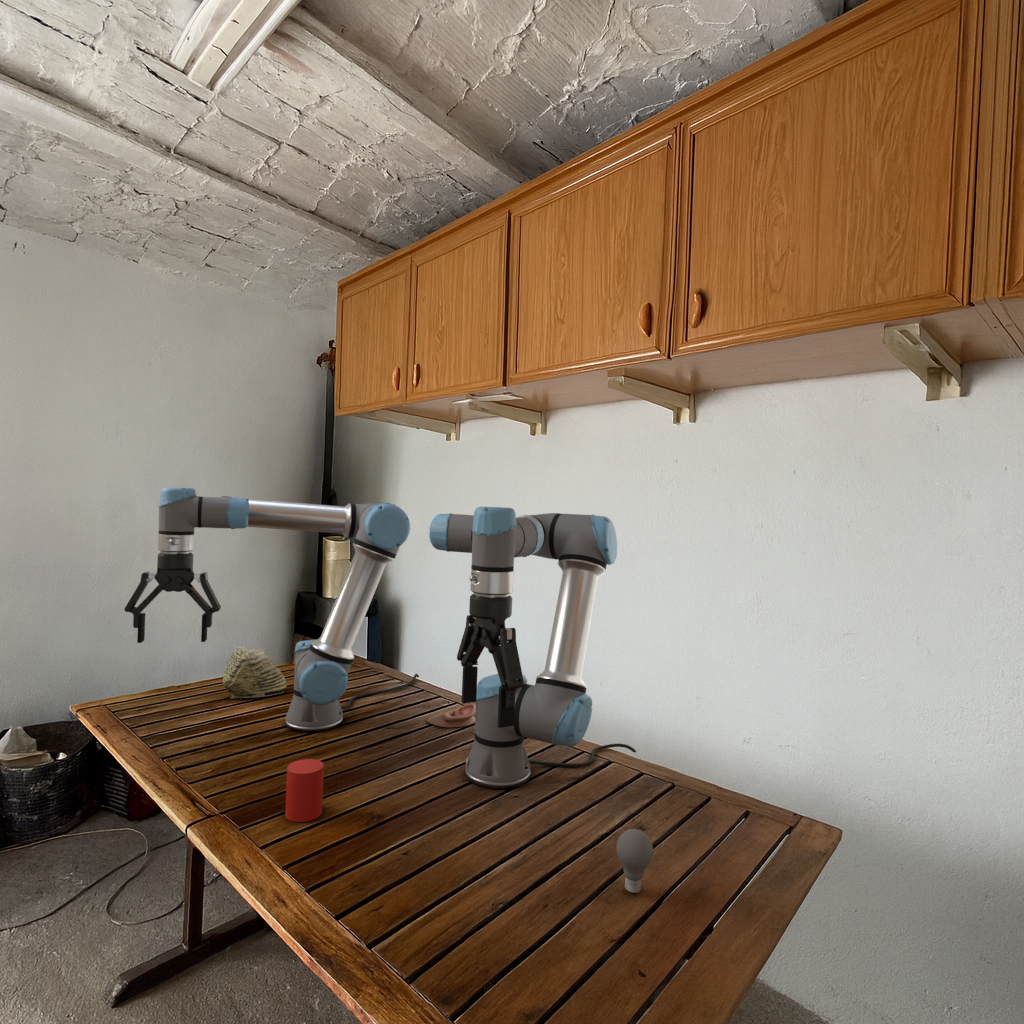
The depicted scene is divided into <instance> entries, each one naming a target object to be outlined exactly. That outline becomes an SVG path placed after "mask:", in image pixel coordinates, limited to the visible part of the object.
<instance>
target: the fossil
mask: <svg viewBox="0 0 1024 1024" xmlns="http://www.w3.org/2000/svg"><path fill="white" fill-rule="evenodd" d="M222 676H223V677H222V685H223V687H224V688H225V690H226V691H228V693H229V698H230V699H250V698H264V697H271V696H275V695H281V694H284V693H285V691H286V689H287V687H288V686H287V680H286V678H285V676H284V674H283V673H282V672H281V669H279V668H278V667H277V665H276V663H275V662H274V660H273V659H272V658H271V657H270V656H269V655H268V654H267V653H266V652H265V650H264V649H263V648H260V647H258V648H251V647H247V646H246V647H245V646H238V647H237V648H236V649H235V650H233V651H232V653H231V656H230V657H229V659H228V660H227V663H226V666H225V668H224V671H223V675H222Z"/></svg>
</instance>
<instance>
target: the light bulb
mask: <svg viewBox="0 0 1024 1024" xmlns="http://www.w3.org/2000/svg"><path fill="white" fill-rule="evenodd" d="M615 849H616V854H617V857H618V859H619V861H620V863H621V865H622V867H623V873H624V874H623V875H624V876H625V878H624V888H625V890H627V891H628V892H630V893H634V894H635V893H639V892H640V891H641V889H642V887H641V886H642V879H643V877H644V875H645V871H646V868H647V867H648V866H649V864H650V863H651V861H652V859H653V855H654V847H653V843H652V841H651V838H649V836H648V835H647V834H646V833H645V832H643V831H642V830H641V829H636V828H629V829H627V830H625V831H623V832H622V833H621V834H620V835H619V837H618V839H617V841H616V847H615Z"/></svg>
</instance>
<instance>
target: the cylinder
mask: <svg viewBox="0 0 1024 1024" xmlns="http://www.w3.org/2000/svg"><path fill="white" fill-rule="evenodd" d="M324 768H325V765H324V762H323V761H321V760H319V759H315V758H304V759H299V760H295V761H292V762H290V763H289V764H288V765H287V767H286V786H285V788H286V789H285V810H284V811H285V813H284V814H285V815H284V816H285V818H286V819H287V820H288V821H290V822H293V823H305V822H310V821H313V820H316V819H317V818H319V817H320V816H321V815H322V813H323V798H324V797H323V795H324V794H323V793H324V792H323V791H324V790H323V789H324Z"/></svg>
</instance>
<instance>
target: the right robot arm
mask: <svg viewBox="0 0 1024 1024" xmlns="http://www.w3.org/2000/svg"><path fill="white" fill-rule="evenodd" d="M473 511H474V512H473V514H462V513H461V514H459V513H452V512H451V513H450V512H449V513H439V514H437V515H435V516H434V517H433V519H432V520H431V522H430V524H429V533H428V537H429V541H430V544H431V546H432V547H433V548H434V549H435V550H438V551H445V552H448V553H449V552H453V553H466V554H467V553H468V554H471V566H470V568H471V570H470V576H469V581H470V591H471V592H472V594H471V595H470V596H469V609H468V610H469V611H468V612H469V613H468V615H466V621H465V627H464V632H463V634H462V638H461V641H460V645H459V648H458V651H457V654H456V660H457V662H460V666H461V667H462V680H461V681H462V682H461V703H462V704H472V703H475V706H476V710H475V714H474V717H475V722H474V738H473V739H474V740H473V743H472V747H471V748H470V752H469V754H468V756H467V757H466V760H465V768H464V775H465V777H466V779H467V781H469V782H471V783H473V784H475V785H476V786H480V787H483V788H488V789H497V790H500V789H501V790H503V789H512V788H517V787H520V786H522V785H524V784H526V783H527V782H529V780H530V778H531V765H540V766H548V767H549V766H550V767H561V768H562V767H563V768H579V767H585V766H590V765H591V764H592V763H593V762H594V760H595V754H596V752H598V751H601V750H605V749H609V748H610V749H611V748H625V749H628V750H630V751H631V752H632V753H637V750H636V749H635V748H634V747H632V746H631V745H628V744H625V743H609V744H604V745H599V746H597V747H595V748H593V749H592V750H591V753H590V759H588V760H587V761H584V762H579V763H576V762H575V763H567V762H566V763H565V762H553V761H552V762H551V761H541V760H532V759H529V757H528V752H527V750H526V745H525V739H528V740H530V739H531V740H534V741H538V742H542V743H548V744H552V745H553V746H562V747H571V748H572V747H575V746H576V745H578V744H579V743H580V742H581V741H582V740H583V738H584V737H585V734H586V732H587V730H588V728H589V726H590V723H591V719H592V714H593V708H592V707H593V699H592V697H591V696H590V695H589V694H587V688H588V686H587V684H586V683H585V681H583V678H582V676H583V672H584V671H583V670H584V664H585V659H586V654H587V653H586V652H587V647H588V642H589V641H588V640H589V634H590V629H591V622H592V615H593V610H594V605H595V604H594V603H595V599H596V593H597V586H598V582H599V581H598V580H599V578H601V577H602V576H603V575H605V574H606V570H607V567H608V566H611V565H613V564H614V563H615V562H616V560H617V554H618V539H617V532H616V527H615V524H614V522H613V521H612V519H611V518H609V517H608V516H605V515H596V514H594V513H592V514H579V513H559V512H550V513H539V514H523V515H518V516H517V512H516V511H515V509H514V508H511V507H503V506H478V507H476V508H475V509H474V510H473ZM530 556H536V557H539V558H543V559H549V560H555V561H556V560H557V565H558V567H559V568H560V570H561V572H562V573H561V579H560V585H559V591H558V595H557V601H556V606H555V612H554V616H553V623H552V627H551V628H552V629H551V633H550V634H551V635H550V639H549V645H548V650H547V655H546V660H545V666H544V670H543V671H542V672H540V674H538V675H537V676H536V677H535V683H534V684H529V683H528V678H527V676H526V675H524V674H523V670H522V665H521V660H520V655H519V650H518V645H517V629H516V628H515V627H507V626H506V620H507V619H509V618H511V617H512V615H513V597H512V596H511V594H512V593H514V569H515V568H514V566H515V565H514V564H515V558H527V557H530ZM607 565H608V566H607ZM485 648H486V649H487V651H488V653H489V654H491V655H492V658H493V661H494V665H495V669H496V671H497V673H496V674H491V675H488V676H485V677H482V678H481V679H480V680H479V681H478V672H479V671H478V670H479V669H478V665H479V661H478V660H479V658H480V656H481V654H483V653H482V652H483V651H484V650H485Z"/></svg>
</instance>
